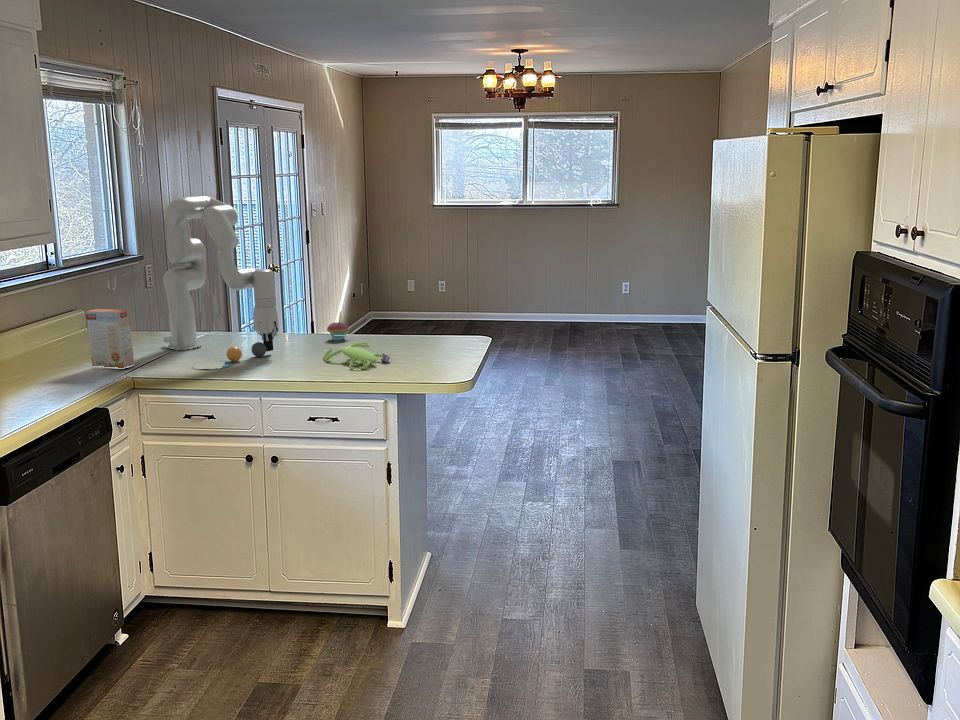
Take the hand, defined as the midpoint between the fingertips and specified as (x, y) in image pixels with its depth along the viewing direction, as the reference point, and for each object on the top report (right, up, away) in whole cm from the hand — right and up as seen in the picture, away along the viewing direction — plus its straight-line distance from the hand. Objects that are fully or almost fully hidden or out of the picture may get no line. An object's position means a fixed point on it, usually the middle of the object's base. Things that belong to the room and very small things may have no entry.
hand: (268, 350), depth 333 cm
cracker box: (-52, -6, -17) cm, 55 cm away
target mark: (-16, -6, -16) cm, 24 cm away
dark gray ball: (-3, 0, -3) cm, 4 cm away
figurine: (+35, -5, -13) cm, 38 cm away
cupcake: (+22, +5, +27) cm, 35 cm away
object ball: (-10, -1, -11) cm, 15 cm away
